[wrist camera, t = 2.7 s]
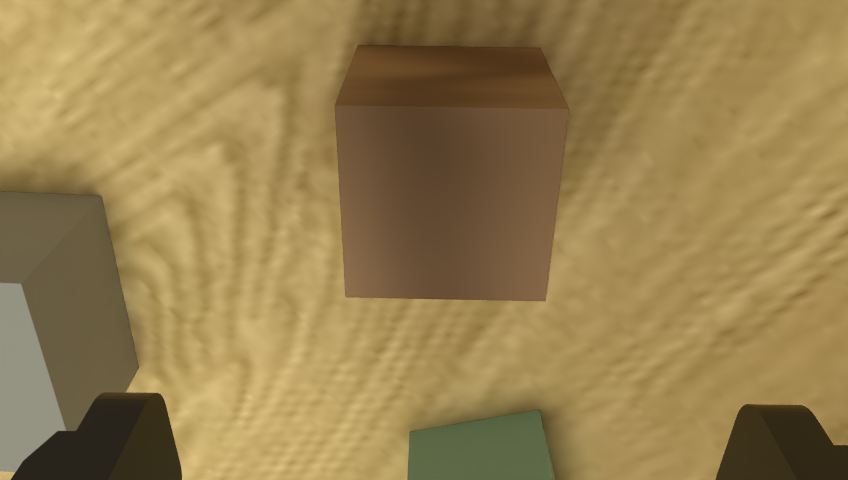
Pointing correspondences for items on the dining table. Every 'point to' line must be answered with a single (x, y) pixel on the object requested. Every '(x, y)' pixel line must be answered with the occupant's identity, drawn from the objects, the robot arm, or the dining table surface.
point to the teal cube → (482, 450)
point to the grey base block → (57, 318)
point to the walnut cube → (449, 172)
